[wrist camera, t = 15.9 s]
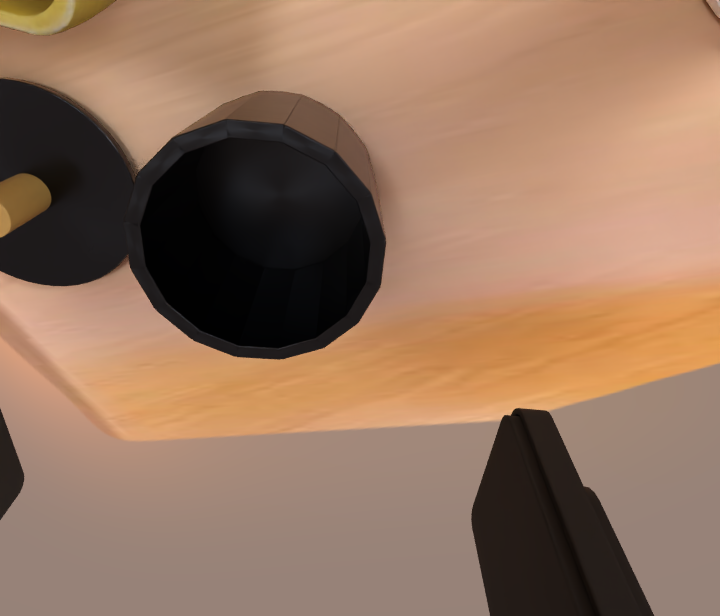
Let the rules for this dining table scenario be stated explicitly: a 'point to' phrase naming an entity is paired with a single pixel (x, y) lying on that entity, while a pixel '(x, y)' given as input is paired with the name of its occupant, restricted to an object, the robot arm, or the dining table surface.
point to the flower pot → (48, 14)
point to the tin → (259, 227)
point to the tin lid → (58, 189)
